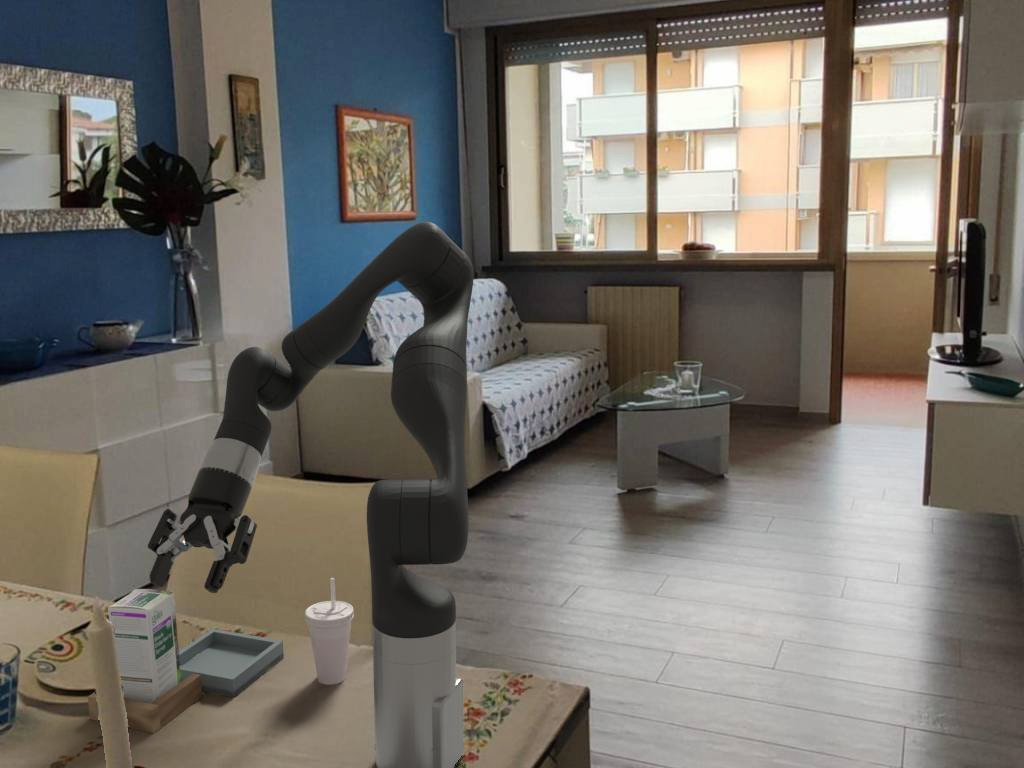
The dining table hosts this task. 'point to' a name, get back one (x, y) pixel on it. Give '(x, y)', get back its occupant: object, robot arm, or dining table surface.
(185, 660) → the tray
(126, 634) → the syrup box
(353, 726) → the dining table surface
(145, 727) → the holder
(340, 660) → the smoothie
